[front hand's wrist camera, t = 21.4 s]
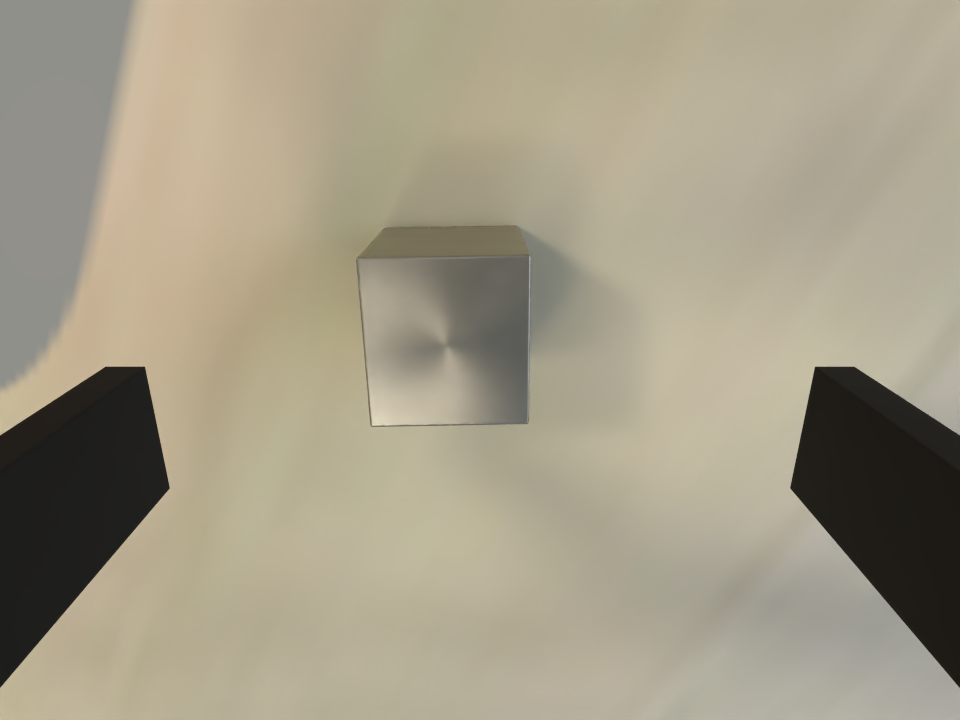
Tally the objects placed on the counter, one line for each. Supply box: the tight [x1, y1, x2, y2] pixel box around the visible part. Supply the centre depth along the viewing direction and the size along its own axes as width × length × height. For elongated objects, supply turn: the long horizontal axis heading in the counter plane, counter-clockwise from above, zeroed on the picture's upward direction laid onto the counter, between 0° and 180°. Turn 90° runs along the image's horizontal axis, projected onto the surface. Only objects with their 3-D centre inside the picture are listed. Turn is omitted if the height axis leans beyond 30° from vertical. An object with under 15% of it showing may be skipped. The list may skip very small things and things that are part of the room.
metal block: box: [356, 226, 531, 427], centre depth 17 cm, size 4×4×5 cm
